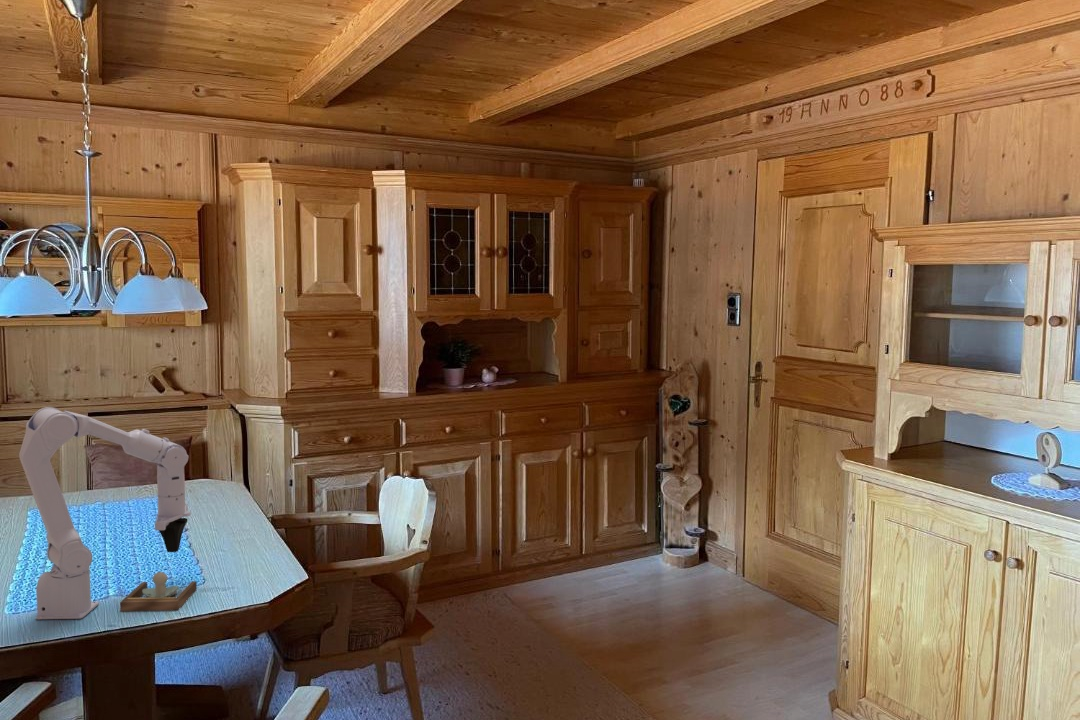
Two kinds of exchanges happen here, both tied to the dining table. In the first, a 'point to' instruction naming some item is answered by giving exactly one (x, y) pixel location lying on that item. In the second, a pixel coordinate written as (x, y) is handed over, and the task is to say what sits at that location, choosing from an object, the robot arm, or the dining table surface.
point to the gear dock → (155, 600)
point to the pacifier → (160, 587)
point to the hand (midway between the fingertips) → (172, 551)
